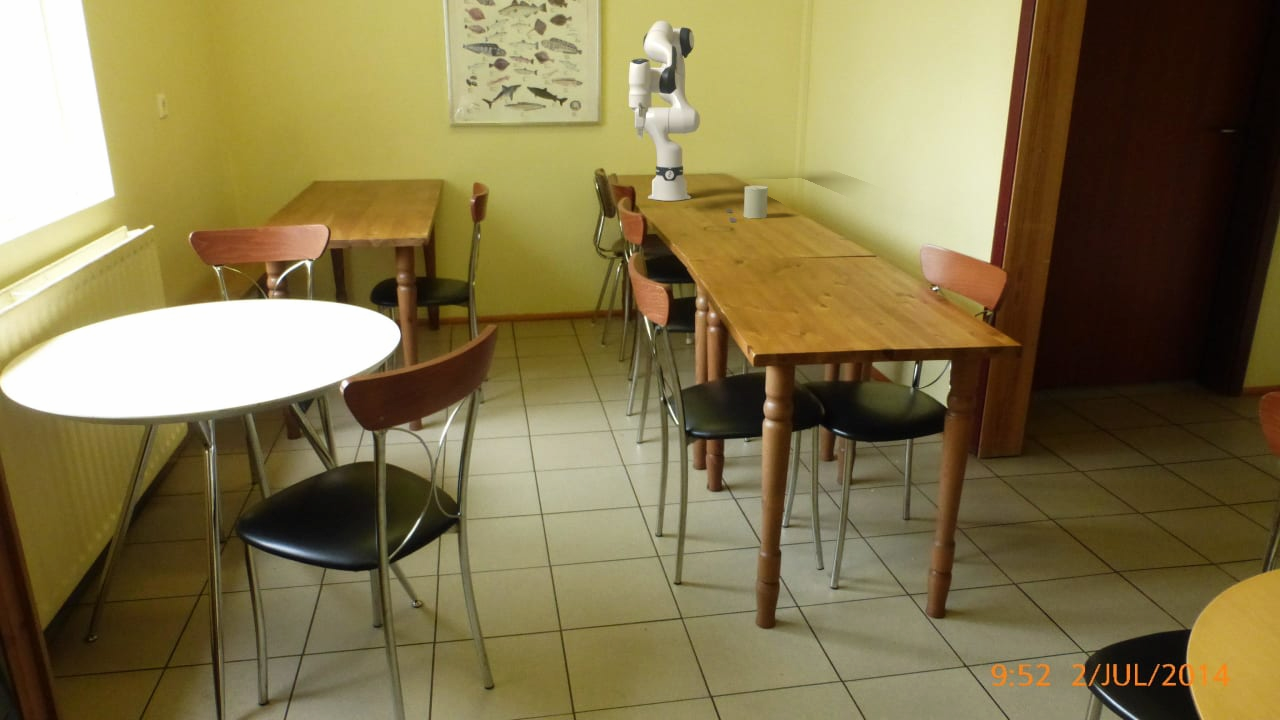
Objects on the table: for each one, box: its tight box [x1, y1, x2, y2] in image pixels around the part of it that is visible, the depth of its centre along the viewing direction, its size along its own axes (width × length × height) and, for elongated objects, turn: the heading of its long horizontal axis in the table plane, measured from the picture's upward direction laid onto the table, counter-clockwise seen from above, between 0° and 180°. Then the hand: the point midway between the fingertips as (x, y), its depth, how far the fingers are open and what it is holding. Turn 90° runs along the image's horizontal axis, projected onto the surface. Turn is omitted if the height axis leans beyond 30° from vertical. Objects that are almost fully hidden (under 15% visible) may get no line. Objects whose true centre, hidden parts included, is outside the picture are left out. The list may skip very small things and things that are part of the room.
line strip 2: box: [729, 217, 737, 223], centre depth 360 cm, size 8×2×1 cm, turn 179°
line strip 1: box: [725, 208, 733, 214], centre depth 380 cm, size 8×2×1 cm, turn 179°
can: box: [743, 185, 769, 219], centre depth 366 cm, size 9×9×12 cm
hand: (640, 138), depth 368 cm, fingers closed
